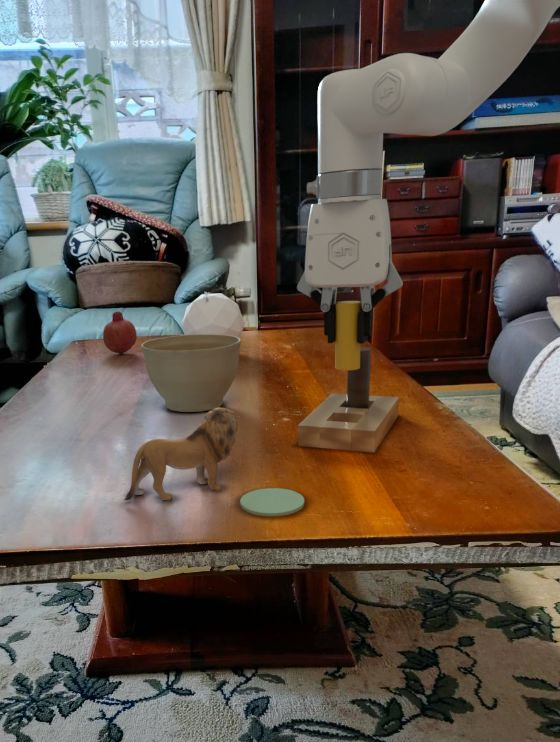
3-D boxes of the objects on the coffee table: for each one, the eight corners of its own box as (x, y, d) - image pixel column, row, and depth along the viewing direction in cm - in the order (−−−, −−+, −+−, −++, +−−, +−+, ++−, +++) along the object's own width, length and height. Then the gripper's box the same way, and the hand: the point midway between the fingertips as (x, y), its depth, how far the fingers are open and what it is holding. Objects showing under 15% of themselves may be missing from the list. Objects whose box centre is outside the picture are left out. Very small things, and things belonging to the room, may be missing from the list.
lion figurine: (226, 470, 85) (223, 400, 82) (249, 483, 80) (246, 409, 77) (116, 498, 78) (108, 423, 75) (134, 513, 74) (127, 434, 71)
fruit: (119, 358, 157) (115, 314, 154) (97, 355, 163) (93, 312, 159) (145, 352, 163) (141, 309, 159) (123, 349, 168) (119, 308, 164)
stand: (398, 416, 102) (399, 397, 101) (374, 453, 88) (374, 430, 87) (331, 412, 107) (331, 393, 105) (297, 446, 92) (297, 425, 91)
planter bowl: (261, 407, 111) (259, 340, 107) (172, 425, 104) (167, 355, 100) (213, 389, 125) (210, 329, 121) (132, 404, 118) (126, 341, 114)
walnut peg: (370, 421, 101) (372, 347, 97) (366, 427, 98) (368, 351, 94) (348, 419, 102) (350, 346, 98) (343, 426, 99) (345, 350, 95)
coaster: (312, 495, 76) (312, 491, 76) (293, 520, 70) (293, 516, 70) (253, 488, 79) (253, 485, 79) (230, 511, 73) (230, 508, 73)
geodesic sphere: (245, 334, 143) (243, 274, 147) (178, 337, 144) (177, 278, 148) (245, 365, 158) (243, 310, 161) (184, 368, 158) (183, 313, 162)
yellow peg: (362, 365, 91) (363, 300, 88) (357, 370, 88) (358, 303, 85) (338, 365, 92) (338, 301, 89) (332, 370, 89) (333, 304, 86)
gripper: (274, 194, 83) (278, 346, 89) (414, 182, 76) (407, 347, 82) (293, 194, 89) (296, 336, 95) (424, 183, 82) (417, 337, 88)
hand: (347, 340), depth 89 cm, fingers closed on yellow peg, 3 cm apart
